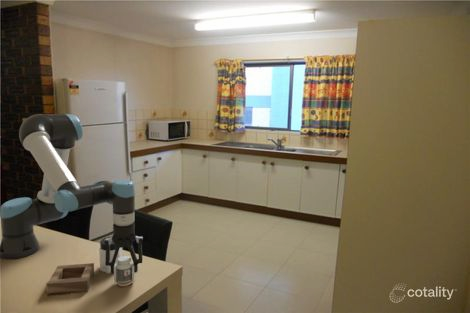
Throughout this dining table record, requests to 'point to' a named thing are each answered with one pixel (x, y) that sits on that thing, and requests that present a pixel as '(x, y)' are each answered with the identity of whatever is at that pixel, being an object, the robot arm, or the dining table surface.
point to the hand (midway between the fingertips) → (124, 280)
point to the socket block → (70, 279)
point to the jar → (103, 255)
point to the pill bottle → (124, 271)
